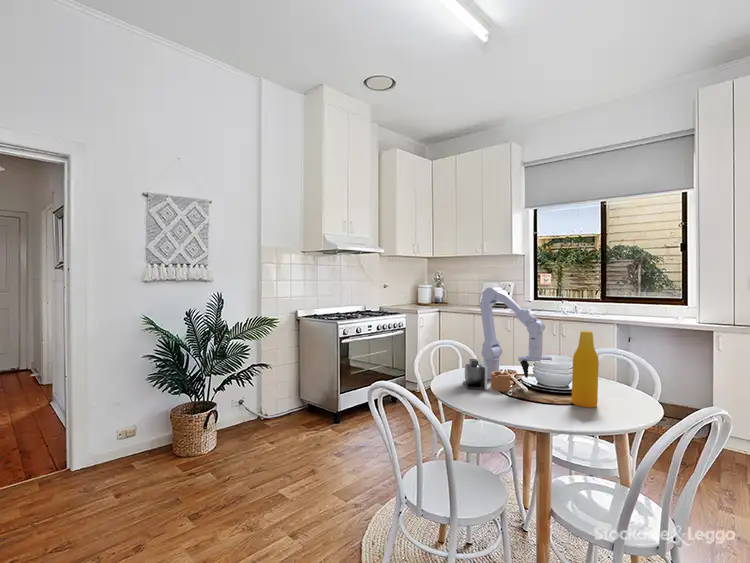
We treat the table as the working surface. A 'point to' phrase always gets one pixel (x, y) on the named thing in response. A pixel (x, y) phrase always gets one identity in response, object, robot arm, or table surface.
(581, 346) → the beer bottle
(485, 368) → the motor
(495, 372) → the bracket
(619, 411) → the table surface
